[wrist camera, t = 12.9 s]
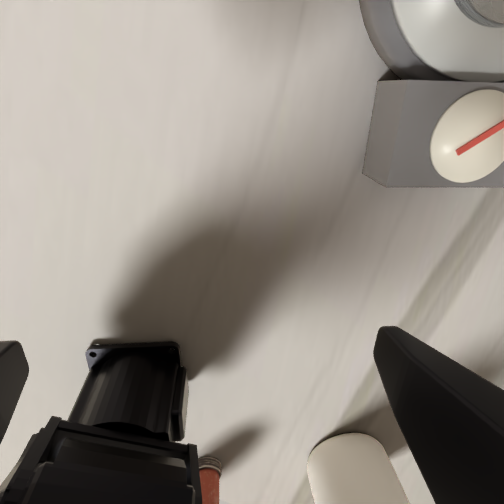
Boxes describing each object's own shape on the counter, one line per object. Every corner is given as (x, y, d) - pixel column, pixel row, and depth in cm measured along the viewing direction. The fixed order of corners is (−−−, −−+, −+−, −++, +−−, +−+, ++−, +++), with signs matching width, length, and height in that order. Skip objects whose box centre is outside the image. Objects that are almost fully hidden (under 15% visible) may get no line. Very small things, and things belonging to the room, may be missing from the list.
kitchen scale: (330, 173, 20) (351, 189, 17) (384, -254, 13) (438, -364, 10) (514, 174, 21) (565, 189, 18) (658, -219, 14) (785, -307, 11)
